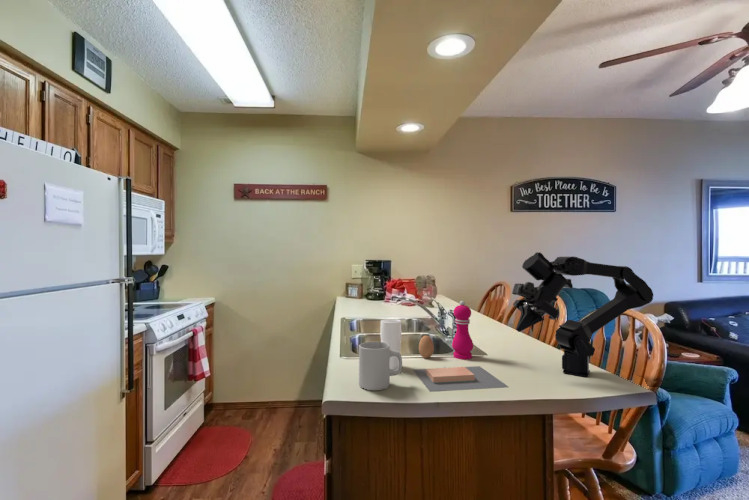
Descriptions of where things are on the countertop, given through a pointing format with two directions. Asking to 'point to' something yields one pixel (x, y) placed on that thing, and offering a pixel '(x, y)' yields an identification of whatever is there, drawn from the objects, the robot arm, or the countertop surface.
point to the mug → (376, 365)
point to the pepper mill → (462, 333)
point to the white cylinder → (391, 338)
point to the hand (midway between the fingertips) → (517, 330)
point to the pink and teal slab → (450, 375)
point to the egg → (426, 347)
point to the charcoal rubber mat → (481, 382)
